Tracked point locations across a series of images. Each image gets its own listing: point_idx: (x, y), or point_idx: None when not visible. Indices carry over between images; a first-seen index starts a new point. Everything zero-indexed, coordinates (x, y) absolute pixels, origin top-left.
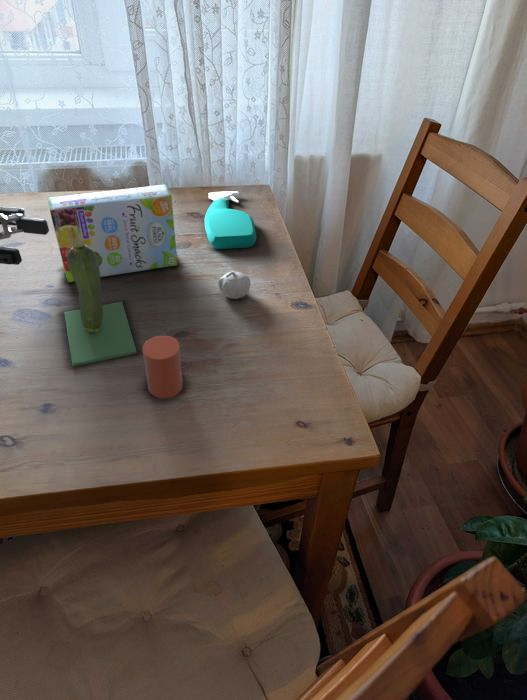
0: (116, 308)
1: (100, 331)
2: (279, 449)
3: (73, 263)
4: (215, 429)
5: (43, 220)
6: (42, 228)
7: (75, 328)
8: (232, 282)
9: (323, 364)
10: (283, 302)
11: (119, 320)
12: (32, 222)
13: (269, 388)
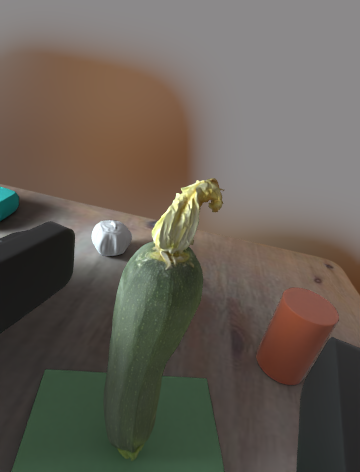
0: (64, 383)
1: None
2: (352, 302)
3: (197, 294)
4: (342, 336)
5: (57, 224)
6: (63, 262)
7: None
8: (123, 231)
9: (242, 244)
10: (143, 230)
11: None
12: (27, 259)
13: (275, 281)
